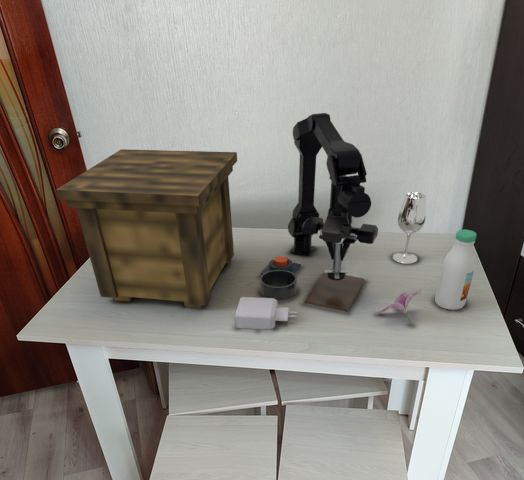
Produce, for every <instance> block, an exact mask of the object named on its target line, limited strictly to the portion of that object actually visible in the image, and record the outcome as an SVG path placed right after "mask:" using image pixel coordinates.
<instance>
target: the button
mask: <svg viewBox="0 0 524 480" xmlns="http://www.w3.org/2000/svg"><path fill="white" fill-rule="evenodd" d="M288 259H289V258H288V257H286V256H284V255H280V256H279V255H278V256H275V257H274V265H275V266H278V267H284V266H287V265H288Z"/></svg>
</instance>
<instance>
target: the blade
mask: <svg viewBox="0 0 524 480" xmlns="http://www.w3.org/2000/svg"><path fill="white" fill-rule="evenodd" d="M342 248H343V240H341V242H340V243H334V256H333V260H332V268H331V269H324V271H323V274H324V273H328V274H327V276H328V278H329V279H332V280H342V279H344V278H345V275H346V274H349V273H350V270H349V269H342V261H341V253H342Z"/></svg>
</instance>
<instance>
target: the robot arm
mask: <svg viewBox="0 0 524 480" xmlns="http://www.w3.org/2000/svg"><path fill="white" fill-rule="evenodd" d="M292 139H293V141H294V142H293V143H294V146H295V147H296V149H297V151H298V153H299V166H298V168H299V169H298V199H297V200H298V202H297V204H296V205H295V207H294V208H293V210H292V215H291V217H292V218H291V219H290V221H289V222H288V224H287V232H288V233H289V235H290V236H291V237H292V238H293V247H292V248H291V250H290V251H289V253H290V254H293V255H294V254H295V255H299V256H300V255H301V256H305V257H308V256H310V255H311V254H312V252H313V251H314V250H315V248H316V247H315V246H313V245H312V238H313V235H317V234H318V233H319V232H320V233H319V236H318V238H319V239H320V240H322V241H323V242H324V243H325V244H326V247H327V250H328V253H329V256H330V259H331V260H332V261H333V256H334V243H340V242H341V241H342V242H343V248H342V253H341V262H343V261H344V259H345V257H346V255H347V253H348V251H349V249H350V246H351V244H352V245H355V244H356V242H357V241H358V243H361V244H367V245H372V244H374V242H375V240H376V239H377V237H378V235H379V228H378V226H377V225H375V224H369V223H362V224H361V226H360V227H359V226H352V225H353V218H357V219H358V218H361V217H364V216H365V215H366V214H368V212H370V209H371V207H372V200H371V197H370V195H368V193H366V187H365V186H363V185H361V184H364V183H367V174H368V173H367V170H366V165H365V163H364V162H365V161H364V159H363V155H362V153H361V151H360V150H359V149H358V148H357V146H355V145H354V144H353V143H350V142H347V141H345V140H344V139H343V137H342V136H341V134H340V133H339V131H338V129H337V128H336V127H335V125H334V123H333V121H332V120H331V116H330V114H329V113H327V112H321V113H320V112H319V113H311V114H310V115H308V116H307V117H306V118H304V119H302V120H300V121H297V122H296V123H295V125H294V126H293V127H292ZM321 149H323V150H324V153H325V154H326V156H327V158H326V163H325V164H326V168H327V172H328V175H329V180H330V181H331V182H330V195H329V196H330V197H329V209H328V210H327V216H326V218H325V220H324V218H323V217H320V213H319V211H318V210H317V208H316V207H315V191H316V169H317V156H318V154H319V152H320V151H321Z"/></svg>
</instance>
